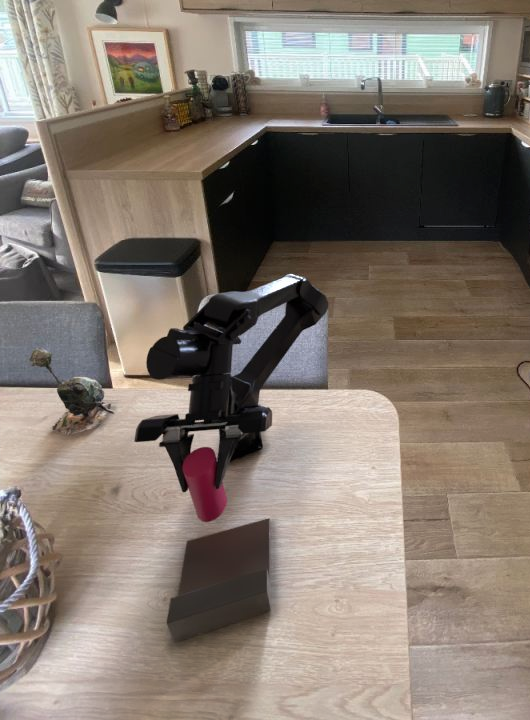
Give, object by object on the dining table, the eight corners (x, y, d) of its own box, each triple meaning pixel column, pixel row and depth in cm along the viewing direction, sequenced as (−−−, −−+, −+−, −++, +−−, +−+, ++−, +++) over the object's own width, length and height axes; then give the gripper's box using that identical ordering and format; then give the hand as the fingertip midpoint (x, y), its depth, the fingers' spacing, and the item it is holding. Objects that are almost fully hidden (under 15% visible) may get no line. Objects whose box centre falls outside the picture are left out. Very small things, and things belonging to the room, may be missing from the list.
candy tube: (212, 486, 64) (200, 441, 59) (233, 499, 62) (222, 454, 57) (190, 513, 60) (175, 468, 56) (211, 527, 58) (197, 482, 54)
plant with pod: (91, 445, 74) (58, 365, 66) (46, 431, 77) (9, 352, 69) (127, 409, 81) (101, 333, 73) (85, 397, 84) (55, 323, 76)
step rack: (189, 548, 59) (183, 528, 57) (270, 525, 62) (267, 505, 60) (174, 643, 50) (166, 623, 48) (271, 610, 53) (267, 591, 51)
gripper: (279, 369, 71) (276, 469, 65) (172, 376, 69) (160, 479, 64) (267, 371, 61) (262, 490, 55) (141, 380, 59) (123, 503, 53)
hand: (201, 489), depth 57 cm, fingers closed on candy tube, 4 cm apart
